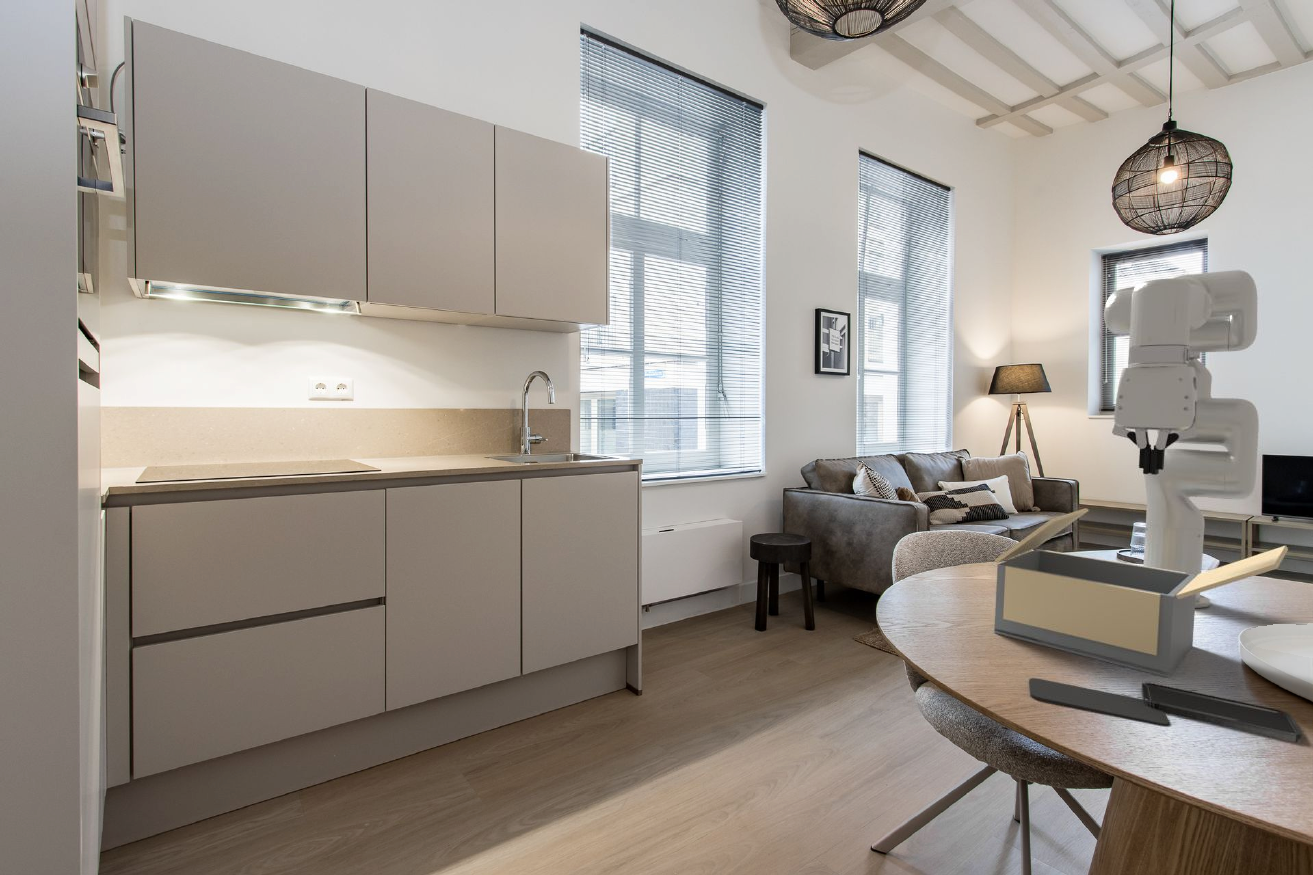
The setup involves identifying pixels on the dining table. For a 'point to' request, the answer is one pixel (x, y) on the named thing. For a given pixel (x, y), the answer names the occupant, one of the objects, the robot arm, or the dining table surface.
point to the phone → (1095, 701)
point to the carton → (1097, 609)
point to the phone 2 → (1222, 712)
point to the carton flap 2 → (1234, 572)
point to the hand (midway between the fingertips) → (1150, 473)
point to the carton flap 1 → (1042, 534)
